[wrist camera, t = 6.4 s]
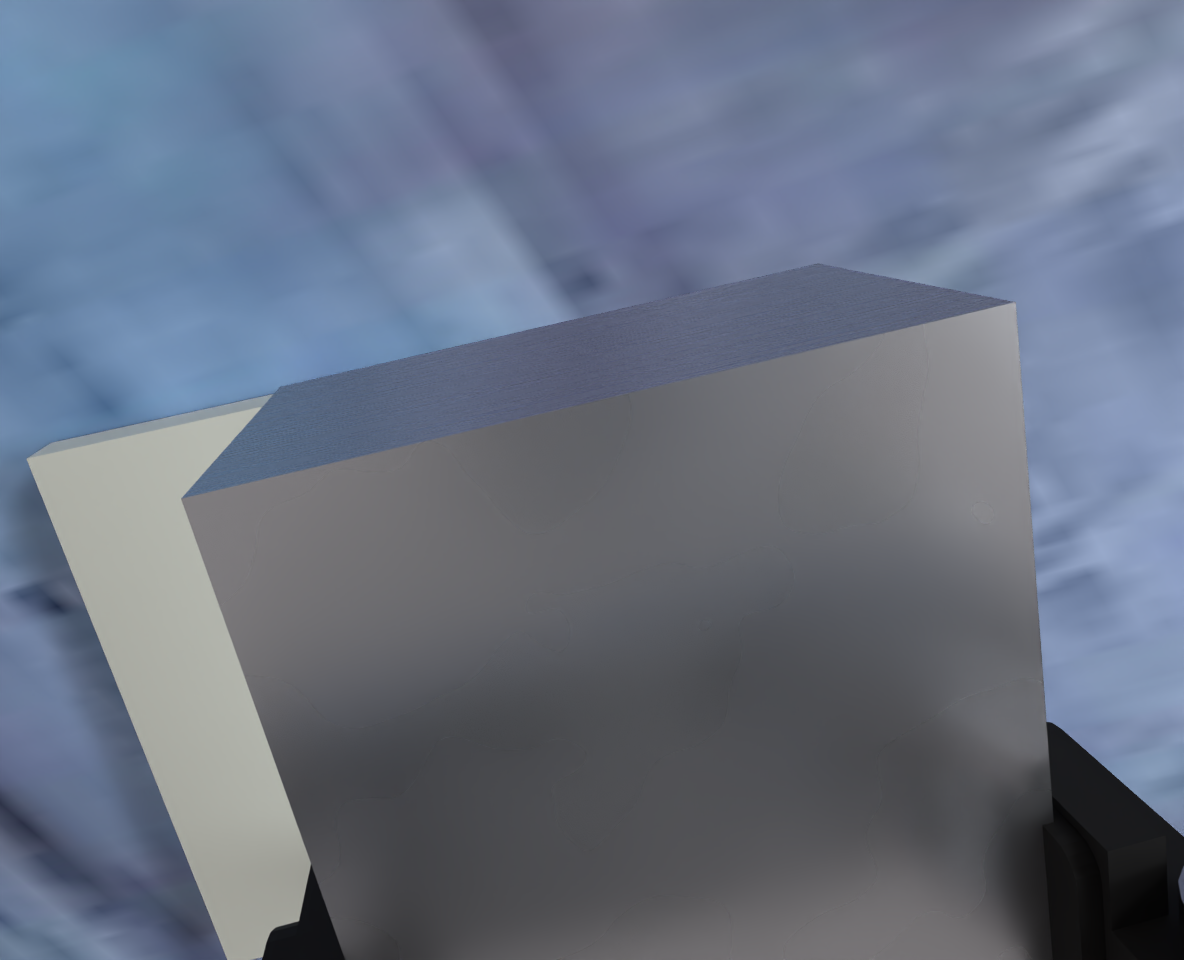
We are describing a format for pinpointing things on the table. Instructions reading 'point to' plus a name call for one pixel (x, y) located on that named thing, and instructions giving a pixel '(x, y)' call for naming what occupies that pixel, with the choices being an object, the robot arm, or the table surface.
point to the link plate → (657, 632)
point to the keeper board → (179, 658)
